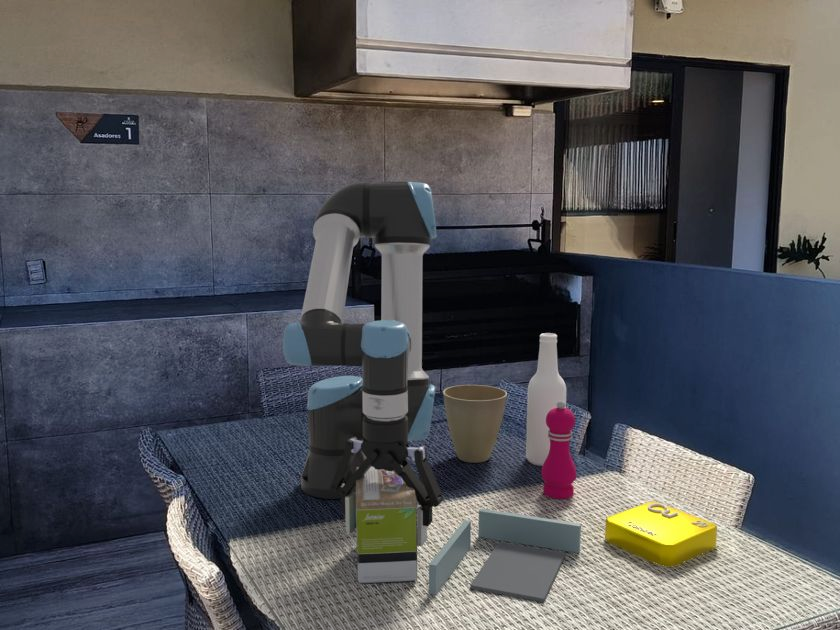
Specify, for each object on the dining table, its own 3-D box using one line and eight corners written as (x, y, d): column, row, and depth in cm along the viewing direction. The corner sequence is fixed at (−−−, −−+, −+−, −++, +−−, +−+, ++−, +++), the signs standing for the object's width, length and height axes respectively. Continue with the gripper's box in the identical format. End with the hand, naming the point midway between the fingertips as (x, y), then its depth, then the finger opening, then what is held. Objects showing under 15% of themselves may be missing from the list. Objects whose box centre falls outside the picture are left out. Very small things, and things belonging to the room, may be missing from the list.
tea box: (356, 543, 147) (355, 464, 144) (412, 541, 147) (412, 463, 145) (356, 584, 132) (355, 498, 129) (418, 582, 133) (418, 496, 130)
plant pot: (487, 473, 182) (488, 404, 180) (430, 461, 190) (431, 394, 188) (516, 454, 195) (517, 389, 192) (462, 443, 203) (462, 381, 200)
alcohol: (566, 456, 193) (570, 332, 188) (560, 469, 185) (564, 339, 180) (530, 452, 196) (533, 329, 191) (522, 464, 188) (525, 336, 183)
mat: (470, 588, 131) (470, 585, 131) (498, 544, 147) (498, 541, 146) (544, 602, 127) (544, 598, 127) (565, 555, 142) (565, 552, 142)
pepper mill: (575, 501, 166) (578, 406, 163) (539, 498, 168) (542, 404, 165) (576, 488, 173) (579, 397, 170) (541, 486, 175) (544, 395, 172)
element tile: (599, 540, 149) (600, 515, 149) (652, 520, 158) (653, 497, 157) (668, 571, 138) (669, 545, 137) (720, 548, 146) (722, 522, 146)
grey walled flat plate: (428, 593, 129) (428, 564, 128) (474, 533, 151) (474, 507, 151) (551, 617, 122) (552, 586, 121) (580, 550, 144) (581, 523, 144)
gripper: (308, 413, 136) (311, 534, 140) (447, 429, 127) (447, 558, 131) (329, 401, 143) (331, 517, 147) (462, 416, 134) (461, 538, 138)
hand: (385, 536), depth 139 cm, fingers closed on tea box, 12 cm apart
